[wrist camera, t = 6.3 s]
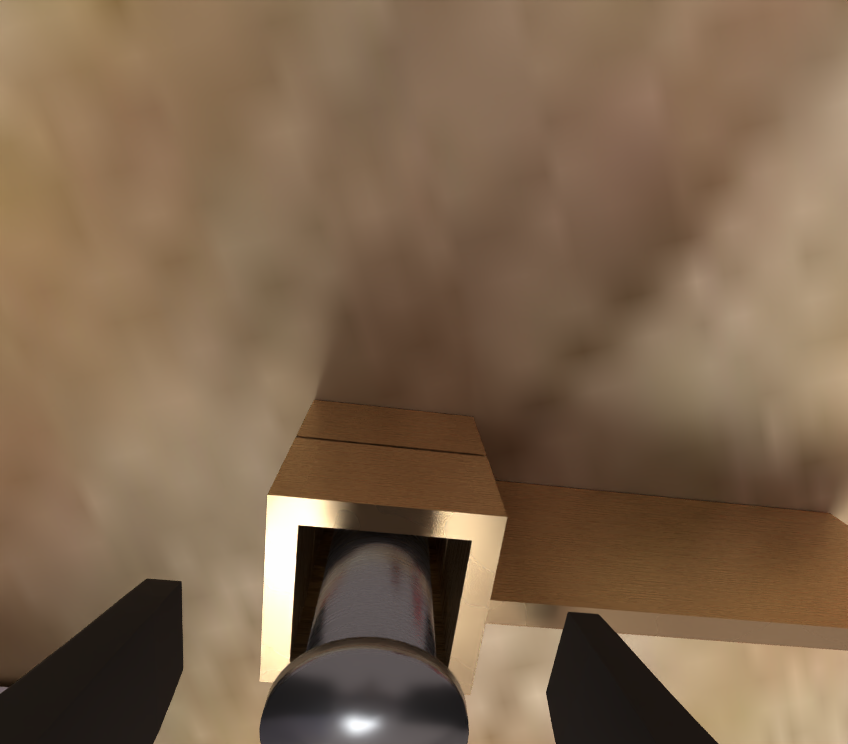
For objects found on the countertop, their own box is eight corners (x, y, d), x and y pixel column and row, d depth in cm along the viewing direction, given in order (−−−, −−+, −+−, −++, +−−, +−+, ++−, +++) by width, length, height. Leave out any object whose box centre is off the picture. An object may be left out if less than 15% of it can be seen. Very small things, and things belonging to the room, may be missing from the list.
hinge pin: (332, 505, 15) (255, 802, 7) (340, 415, 14) (263, 647, 7) (429, 514, 15) (451, 812, 8) (443, 426, 14) (485, 663, 7)
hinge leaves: (286, 801, 19) (247, 998, 14) (313, 399, 14) (267, 494, 9) (696, 820, 20) (787, 1007, 15) (854, 457, 15) (1058, 567, 10)
